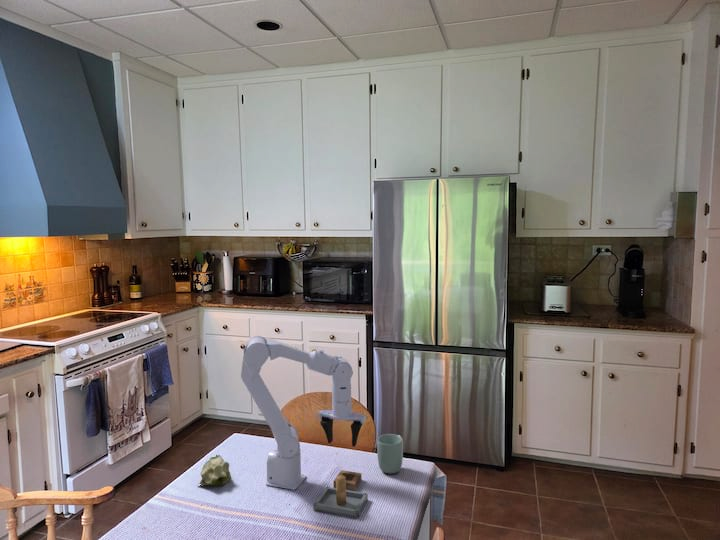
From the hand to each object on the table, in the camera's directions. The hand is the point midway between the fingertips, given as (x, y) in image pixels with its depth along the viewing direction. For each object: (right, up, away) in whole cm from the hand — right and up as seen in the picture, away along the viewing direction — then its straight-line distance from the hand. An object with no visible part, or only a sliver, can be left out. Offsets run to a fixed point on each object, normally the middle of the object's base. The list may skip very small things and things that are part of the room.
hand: (342, 443), depth 144 cm
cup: (+15, -10, +3) cm, 18 cm away
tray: (0, -11, -15) cm, 19 cm away
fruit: (-37, -11, -2) cm, 39 cm away
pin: (0, -11, -15) cm, 18 cm away
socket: (+2, -10, -4) cm, 11 cm away
